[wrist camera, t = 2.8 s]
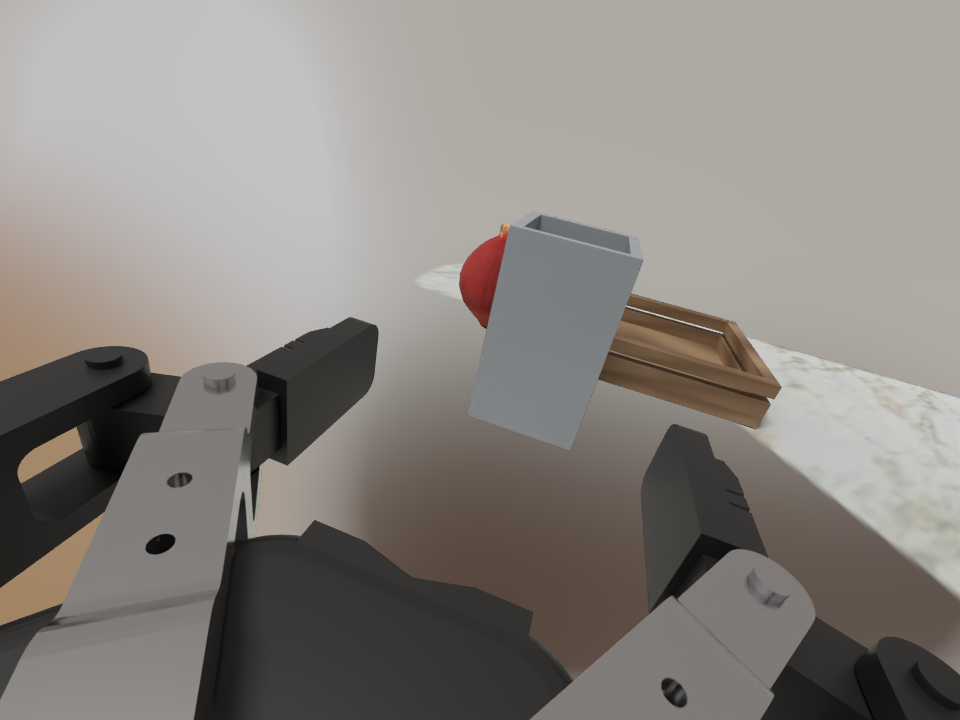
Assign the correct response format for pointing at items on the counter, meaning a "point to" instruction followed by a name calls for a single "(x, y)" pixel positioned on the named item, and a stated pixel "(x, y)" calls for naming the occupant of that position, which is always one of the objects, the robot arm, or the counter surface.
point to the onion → (483, 276)
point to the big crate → (689, 362)
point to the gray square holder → (552, 325)
